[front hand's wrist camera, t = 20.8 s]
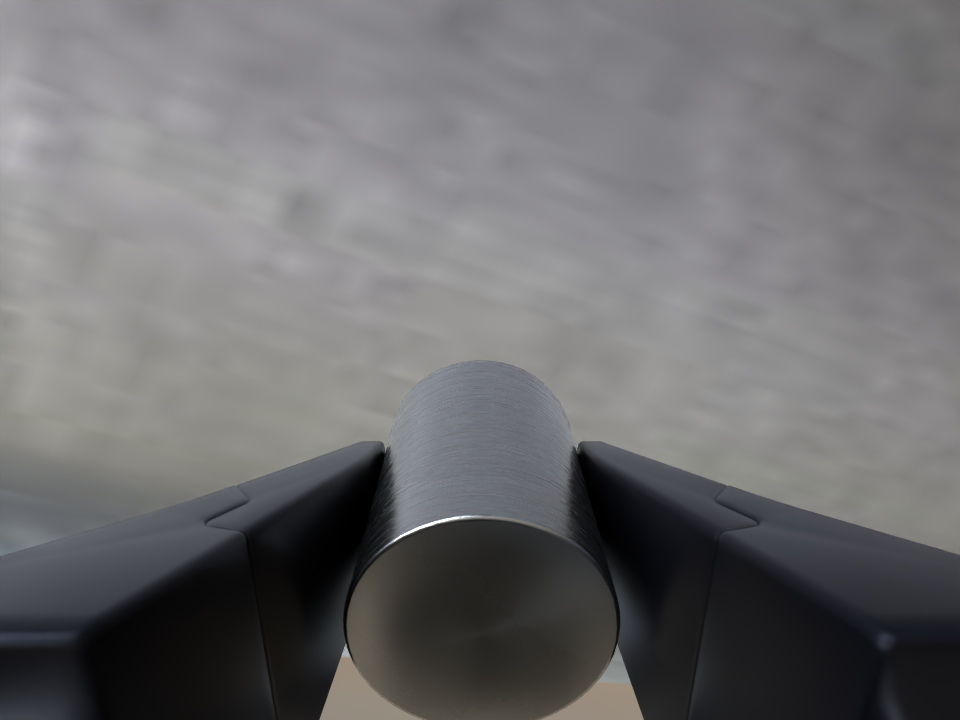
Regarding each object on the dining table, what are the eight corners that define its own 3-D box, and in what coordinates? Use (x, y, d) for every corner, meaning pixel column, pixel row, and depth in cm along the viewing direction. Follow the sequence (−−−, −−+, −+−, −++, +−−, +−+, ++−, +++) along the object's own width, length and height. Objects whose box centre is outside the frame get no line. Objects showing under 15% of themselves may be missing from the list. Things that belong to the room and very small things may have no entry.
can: (596, 478, 13) (660, 682, 8) (441, 539, 13) (420, 761, 9) (527, 330, 12) (557, 473, 7) (359, 403, 12) (288, 579, 8)
